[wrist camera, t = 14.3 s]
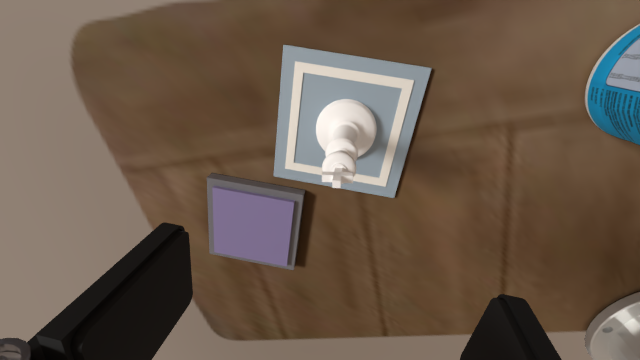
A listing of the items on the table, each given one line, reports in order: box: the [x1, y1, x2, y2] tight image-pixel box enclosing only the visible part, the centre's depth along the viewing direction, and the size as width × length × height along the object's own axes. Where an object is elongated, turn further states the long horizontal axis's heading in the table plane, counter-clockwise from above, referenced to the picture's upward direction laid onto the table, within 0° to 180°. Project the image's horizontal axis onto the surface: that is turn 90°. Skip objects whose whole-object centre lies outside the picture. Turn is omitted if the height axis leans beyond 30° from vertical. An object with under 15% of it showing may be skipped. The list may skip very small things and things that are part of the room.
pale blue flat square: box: [274, 45, 431, 198], centre depth 25 cm, size 11×11×1 cm
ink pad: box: [207, 173, 305, 270], centre depth 30 cm, size 9×9×1 cm
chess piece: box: [316, 99, 377, 188], centre depth 20 cm, size 5×5×10 cm
